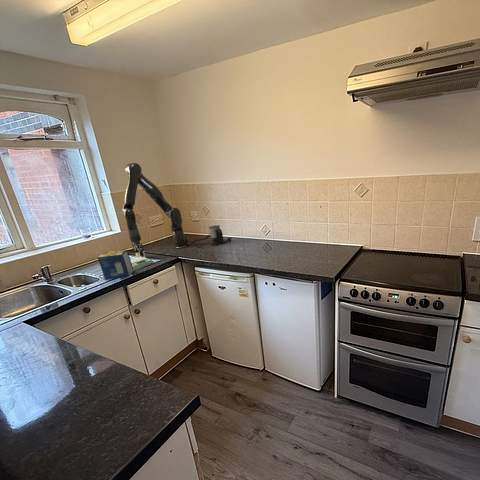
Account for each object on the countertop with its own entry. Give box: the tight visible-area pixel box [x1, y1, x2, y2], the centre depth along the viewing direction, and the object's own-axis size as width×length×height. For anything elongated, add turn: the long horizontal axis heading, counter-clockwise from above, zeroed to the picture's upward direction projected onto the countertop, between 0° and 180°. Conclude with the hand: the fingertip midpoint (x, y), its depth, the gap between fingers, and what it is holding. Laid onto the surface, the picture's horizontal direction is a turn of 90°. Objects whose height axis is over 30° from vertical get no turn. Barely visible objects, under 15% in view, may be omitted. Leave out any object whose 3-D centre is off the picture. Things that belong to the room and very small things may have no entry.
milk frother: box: [208, 224, 233, 246], centre depth 248 cm, size 14×16×15 cm
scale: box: [130, 257, 153, 270], centre depth 218 cm, size 14×17×3 cm
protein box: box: [97, 249, 135, 280], centre depth 196 cm, size 10×15×16 cm
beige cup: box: [135, 250, 146, 258], centre depth 231 cm, size 6×6×5 cm
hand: (140, 255), depth 231 cm, fingers open, 6 cm apart
